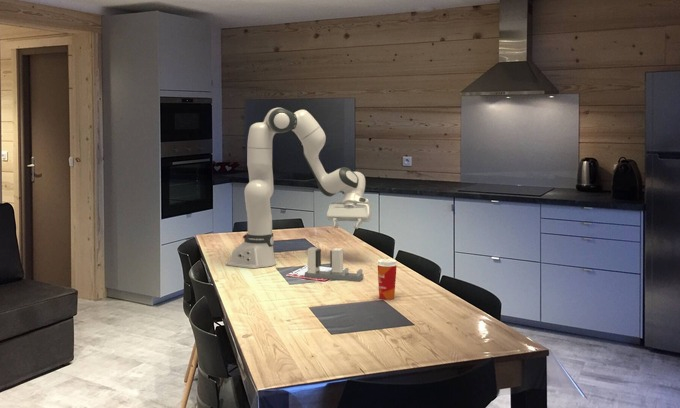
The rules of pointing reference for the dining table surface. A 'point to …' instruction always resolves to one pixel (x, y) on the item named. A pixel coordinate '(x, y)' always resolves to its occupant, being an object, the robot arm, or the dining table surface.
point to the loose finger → (336, 259)
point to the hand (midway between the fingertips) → (345, 227)
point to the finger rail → (315, 272)
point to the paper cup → (386, 278)
